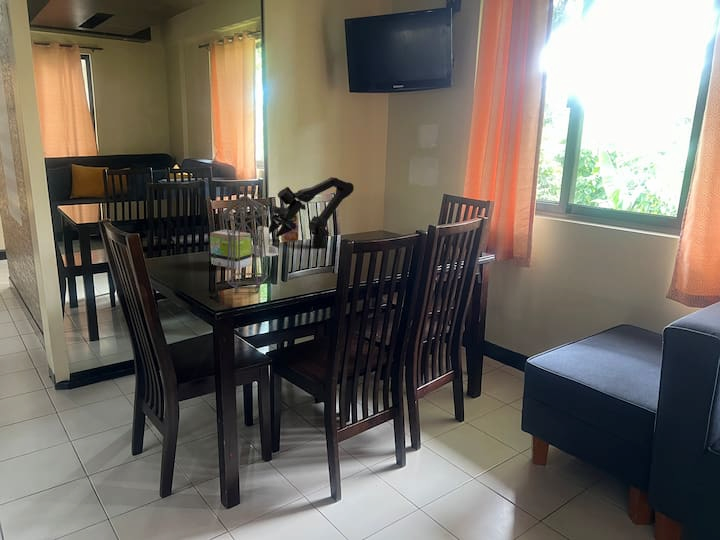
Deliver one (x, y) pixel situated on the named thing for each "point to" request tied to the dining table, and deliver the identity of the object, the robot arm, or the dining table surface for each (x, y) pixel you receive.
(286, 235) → the candy box
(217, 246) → the tea box
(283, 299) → the dining table surface
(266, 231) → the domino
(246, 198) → the geometric lantern
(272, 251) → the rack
